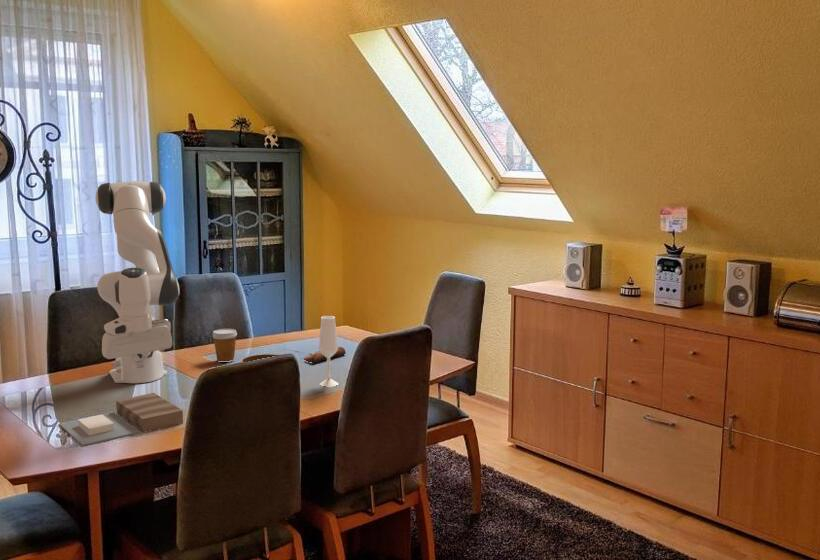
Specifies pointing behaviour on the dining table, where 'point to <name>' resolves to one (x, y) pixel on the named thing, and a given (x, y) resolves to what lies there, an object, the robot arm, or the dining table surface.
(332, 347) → the champagne flute
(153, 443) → the dining table surface
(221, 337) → the disposable coffee cup
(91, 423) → the cream flat block
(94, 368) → the dining table surface
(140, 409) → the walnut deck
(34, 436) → the dining table surface
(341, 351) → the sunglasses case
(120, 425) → the grey mat
